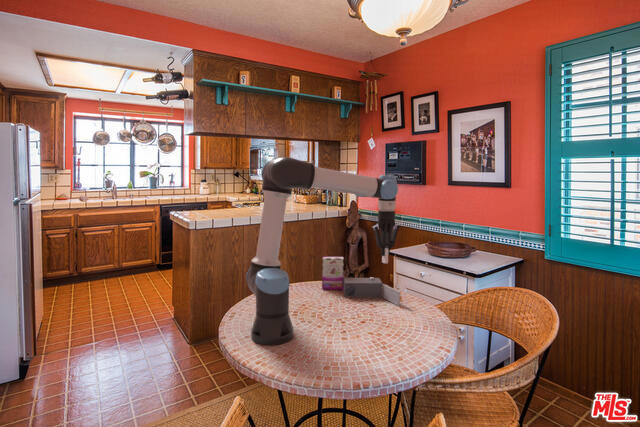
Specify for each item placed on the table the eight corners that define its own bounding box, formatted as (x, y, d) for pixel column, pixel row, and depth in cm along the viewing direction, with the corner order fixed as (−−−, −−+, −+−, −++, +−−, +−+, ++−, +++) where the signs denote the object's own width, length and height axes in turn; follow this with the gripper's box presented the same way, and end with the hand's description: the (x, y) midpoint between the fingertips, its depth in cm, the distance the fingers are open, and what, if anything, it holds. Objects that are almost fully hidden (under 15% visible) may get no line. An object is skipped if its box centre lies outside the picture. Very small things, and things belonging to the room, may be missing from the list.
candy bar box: (343, 287, 187) (344, 256, 186) (343, 290, 182) (344, 258, 181) (322, 286, 188) (322, 256, 186) (321, 289, 183) (322, 258, 181)
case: (345, 298, 170) (345, 282, 169) (343, 291, 181) (343, 276, 180) (382, 298, 171) (383, 282, 170) (378, 291, 181) (379, 276, 180)
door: (401, 305, 161) (402, 291, 160) (397, 306, 160) (398, 291, 159) (385, 296, 172) (385, 283, 172) (381, 297, 172) (382, 284, 171)
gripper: (377, 211, 152) (376, 265, 154) (404, 210, 156) (402, 263, 159) (369, 209, 159) (368, 261, 161) (395, 209, 163) (393, 260, 166)
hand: (384, 262), depth 160 cm, fingers closed
